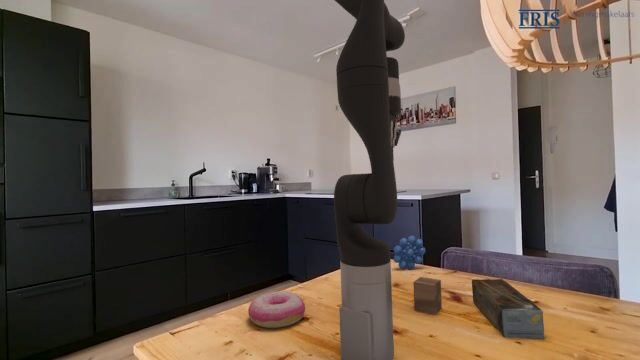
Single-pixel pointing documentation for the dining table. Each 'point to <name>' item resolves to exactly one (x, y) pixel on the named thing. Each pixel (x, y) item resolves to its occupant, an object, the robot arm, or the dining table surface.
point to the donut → (276, 309)
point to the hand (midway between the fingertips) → (388, 161)
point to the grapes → (409, 252)
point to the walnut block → (427, 295)
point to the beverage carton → (508, 309)
